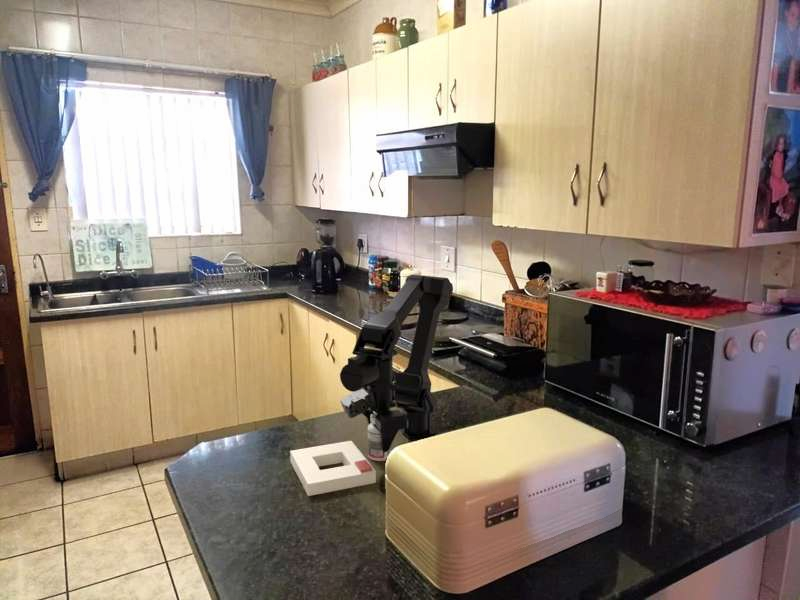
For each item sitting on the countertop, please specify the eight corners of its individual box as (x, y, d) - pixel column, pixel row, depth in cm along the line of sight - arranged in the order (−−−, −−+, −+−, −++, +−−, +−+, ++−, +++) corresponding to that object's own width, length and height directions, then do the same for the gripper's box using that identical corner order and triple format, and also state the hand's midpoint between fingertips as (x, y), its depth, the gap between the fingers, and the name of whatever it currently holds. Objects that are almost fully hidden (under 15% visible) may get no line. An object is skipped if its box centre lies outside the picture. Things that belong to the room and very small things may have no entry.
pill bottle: (381, 449, 134) (381, 408, 132) (396, 457, 130) (396, 415, 128) (362, 455, 130) (362, 414, 129) (377, 464, 126) (377, 421, 125)
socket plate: (351, 450, 133) (351, 438, 132) (375, 482, 118) (375, 468, 118) (290, 461, 127) (290, 448, 127) (308, 496, 113) (307, 481, 112)
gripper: (331, 370, 132) (332, 435, 135) (358, 397, 115) (358, 470, 118) (377, 365, 136) (377, 428, 139) (409, 389, 119) (409, 460, 122)
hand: (379, 445), depth 130 cm, fingers open, 6 cm apart
